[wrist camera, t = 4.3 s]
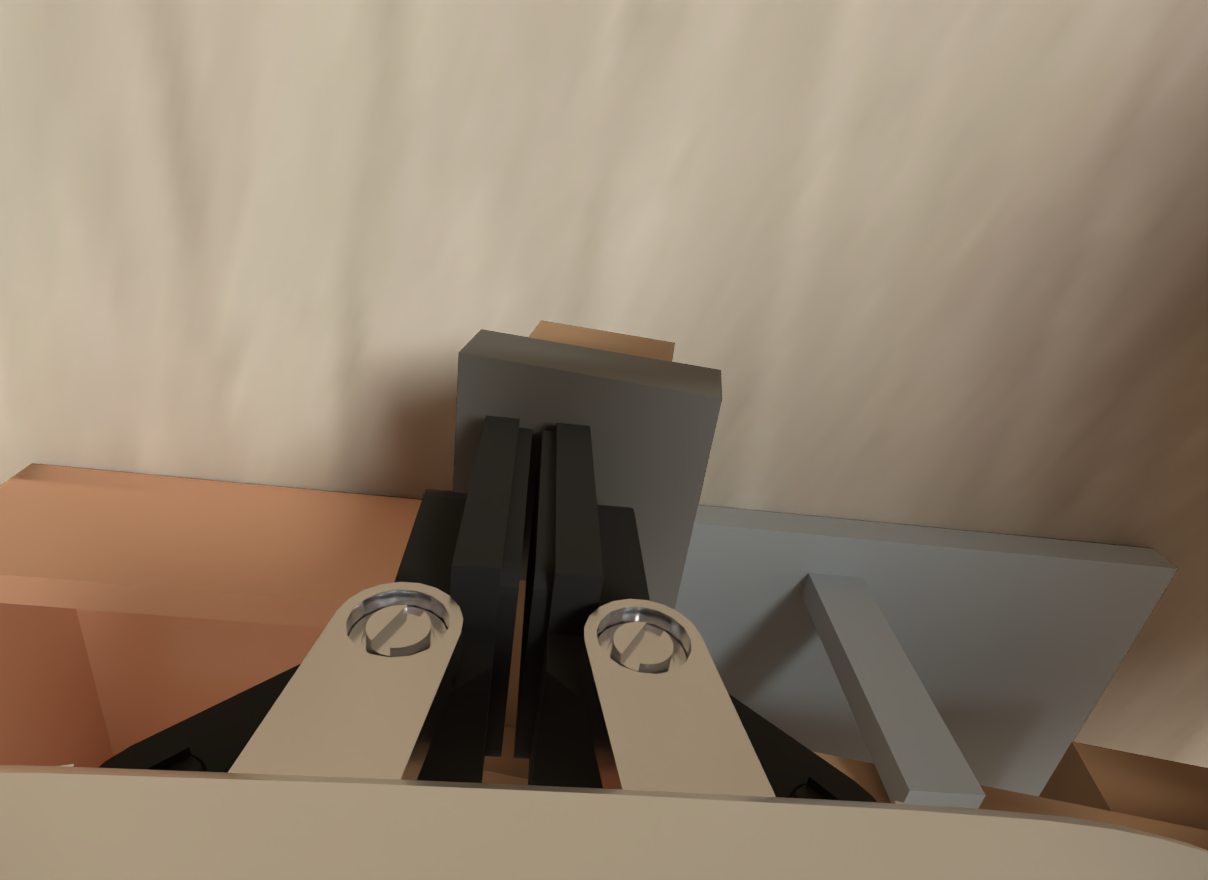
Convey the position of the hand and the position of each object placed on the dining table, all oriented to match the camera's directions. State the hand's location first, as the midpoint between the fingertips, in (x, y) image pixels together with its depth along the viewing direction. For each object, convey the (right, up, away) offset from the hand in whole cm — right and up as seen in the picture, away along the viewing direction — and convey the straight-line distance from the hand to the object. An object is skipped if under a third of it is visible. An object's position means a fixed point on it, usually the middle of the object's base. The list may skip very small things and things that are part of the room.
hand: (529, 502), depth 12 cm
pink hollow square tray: (-9, -5, +11) cm, 15 cm away
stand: (+7, -7, +12) cm, 16 cm away
